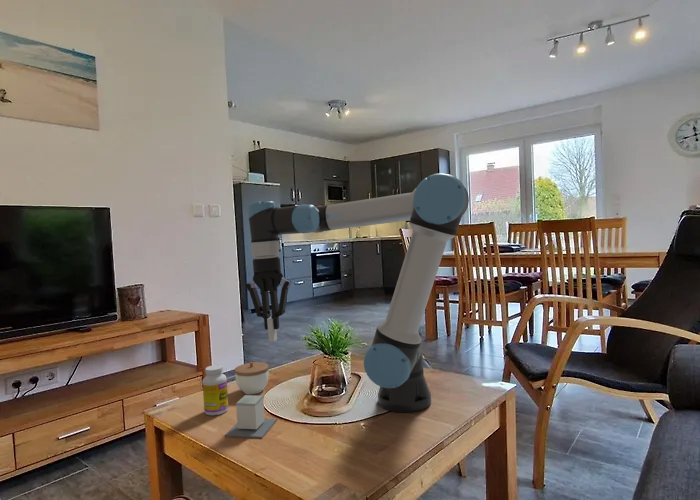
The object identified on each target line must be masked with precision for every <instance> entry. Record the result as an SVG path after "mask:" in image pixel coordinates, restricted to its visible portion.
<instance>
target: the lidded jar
mask: <svg viewBox="0 0 700 500" xmlns="http://www.w3.org/2000/svg"><path fill="white" fill-rule="evenodd" d="M269 366H270V365H269V364H268V363H266V362H259V361H256V362H255V361H254V362H253V361H250V362H247V363H242V364H240V365H237V367H235V368H234V377H235V382H236V386H237V388H239V390H240V391H242V392H243V393H244V394H245V395H257V394H259V393H261V392H263V389H264V388H266V386H267V384H268V382H269V375H270V371H269V369H270V367H269Z"/></svg>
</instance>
